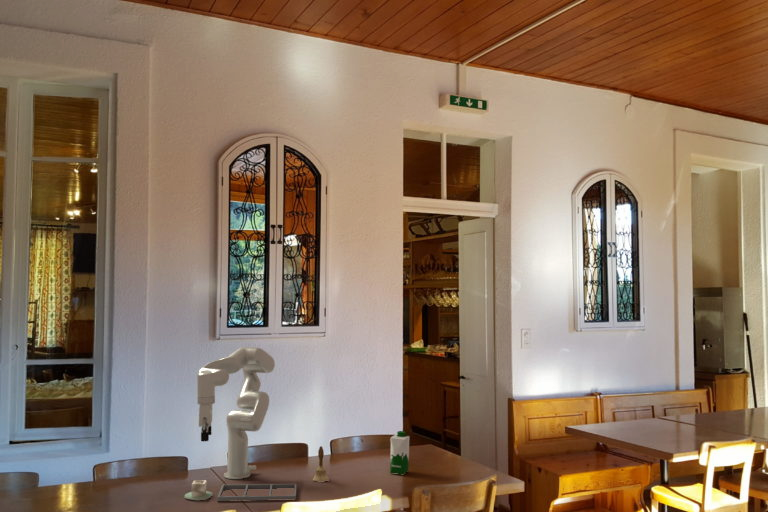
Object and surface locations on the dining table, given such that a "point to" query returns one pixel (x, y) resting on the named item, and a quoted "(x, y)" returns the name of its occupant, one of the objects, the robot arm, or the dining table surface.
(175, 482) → the dining table surface
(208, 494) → the mat
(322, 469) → the hand bell
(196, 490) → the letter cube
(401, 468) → the milk carton
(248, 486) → the organiser
